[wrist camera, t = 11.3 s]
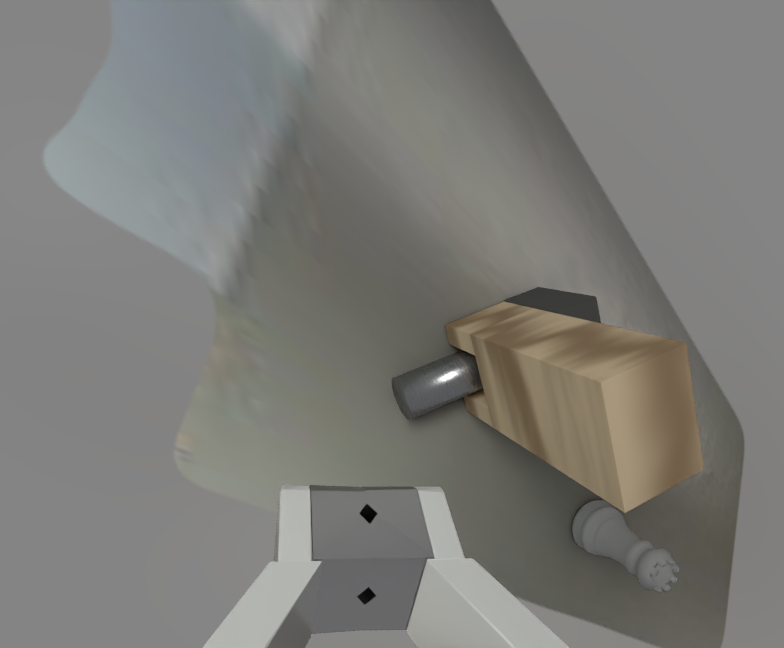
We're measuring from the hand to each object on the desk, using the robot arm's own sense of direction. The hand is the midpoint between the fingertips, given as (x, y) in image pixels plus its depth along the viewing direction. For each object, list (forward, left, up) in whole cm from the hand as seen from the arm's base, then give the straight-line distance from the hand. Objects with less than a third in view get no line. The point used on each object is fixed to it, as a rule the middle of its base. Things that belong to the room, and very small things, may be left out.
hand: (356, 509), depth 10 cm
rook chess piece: (+12, +32, -26) cm, 43 cm away
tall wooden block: (0, +18, -25) cm, 31 cm away
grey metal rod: (0, +18, -25) cm, 31 cm away
